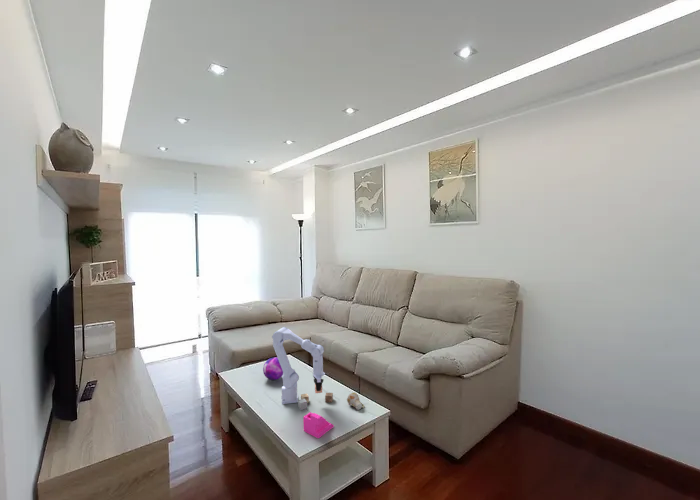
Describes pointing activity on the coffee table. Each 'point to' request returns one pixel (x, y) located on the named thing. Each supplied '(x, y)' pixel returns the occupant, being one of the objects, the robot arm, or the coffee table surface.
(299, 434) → the coffee table surface
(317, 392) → the terracotta cube
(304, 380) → the coffee table surface
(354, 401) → the cream patterned bulbous figurine
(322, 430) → the bracket
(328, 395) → the walnut cube
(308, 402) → the beech cube
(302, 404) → the slate cube
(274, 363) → the decorative orb
